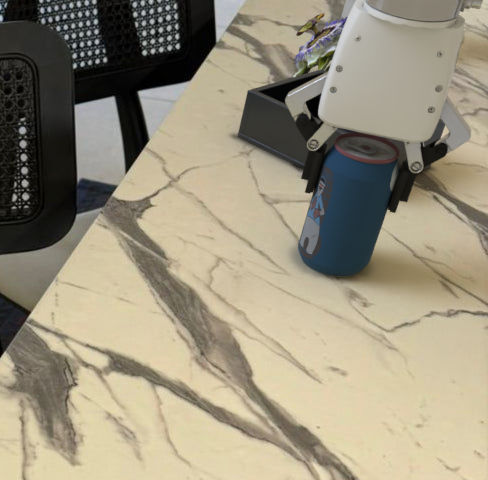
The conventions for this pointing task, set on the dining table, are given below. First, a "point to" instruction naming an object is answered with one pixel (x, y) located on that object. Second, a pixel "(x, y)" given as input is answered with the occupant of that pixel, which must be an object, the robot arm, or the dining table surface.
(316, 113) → the dark grey open box
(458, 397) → the dining table surface
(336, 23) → the passion flower
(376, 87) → the robot arm
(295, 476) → the dining table surface
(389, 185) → the soda can
